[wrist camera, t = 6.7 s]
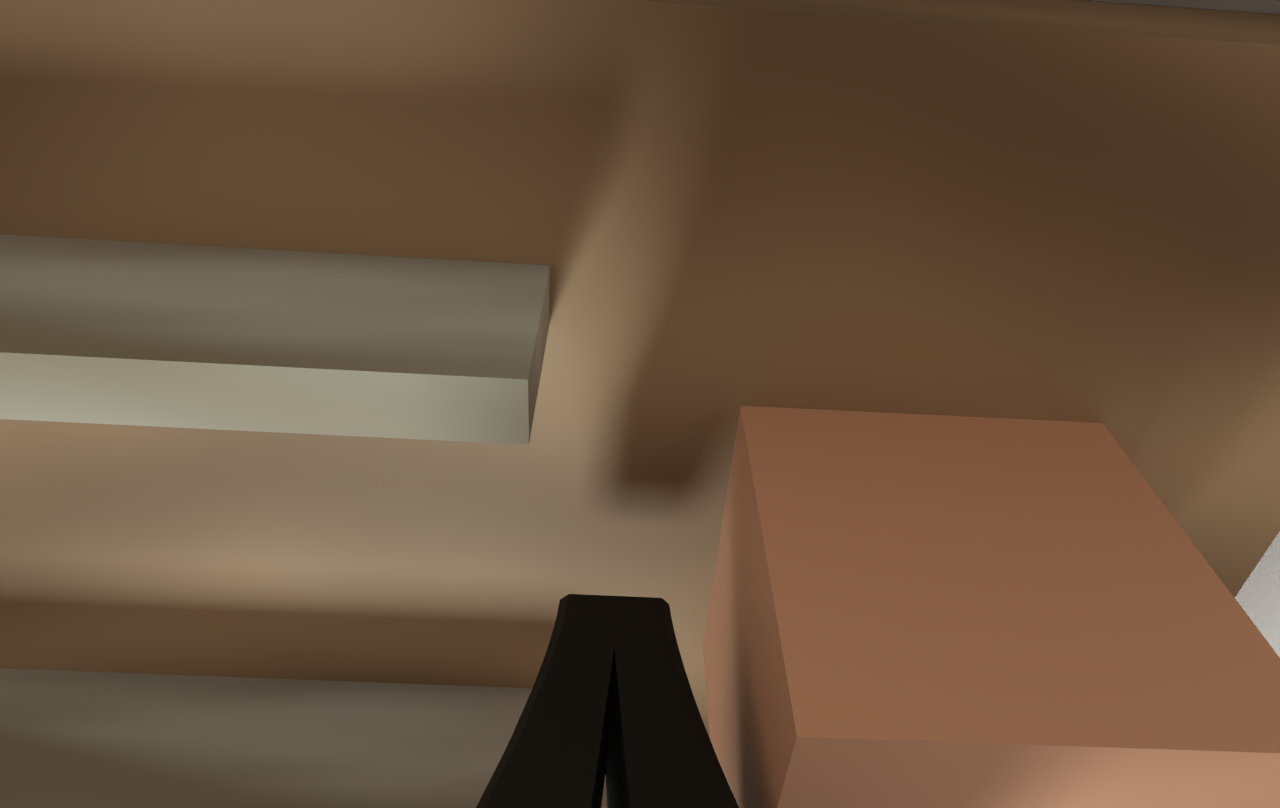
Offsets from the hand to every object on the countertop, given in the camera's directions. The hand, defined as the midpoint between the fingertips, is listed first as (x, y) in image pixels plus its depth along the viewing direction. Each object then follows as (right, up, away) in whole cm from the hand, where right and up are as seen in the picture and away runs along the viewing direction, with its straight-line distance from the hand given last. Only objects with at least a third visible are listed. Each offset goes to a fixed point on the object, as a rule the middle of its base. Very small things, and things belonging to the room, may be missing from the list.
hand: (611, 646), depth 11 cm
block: (+4, +1, +2) cm, 5 cm away
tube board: (-5, +3, +3) cm, 6 cm away
